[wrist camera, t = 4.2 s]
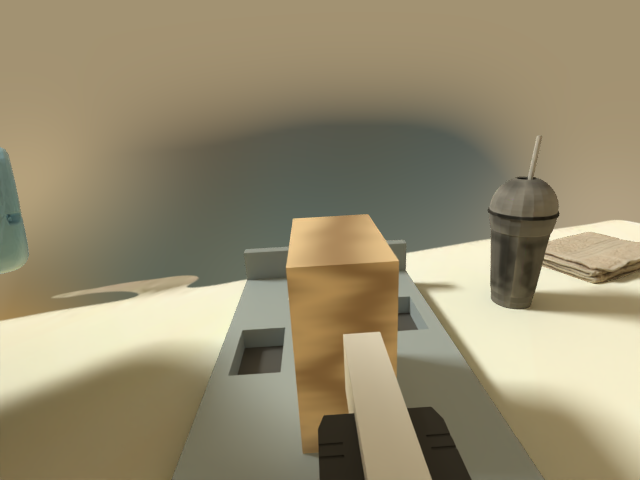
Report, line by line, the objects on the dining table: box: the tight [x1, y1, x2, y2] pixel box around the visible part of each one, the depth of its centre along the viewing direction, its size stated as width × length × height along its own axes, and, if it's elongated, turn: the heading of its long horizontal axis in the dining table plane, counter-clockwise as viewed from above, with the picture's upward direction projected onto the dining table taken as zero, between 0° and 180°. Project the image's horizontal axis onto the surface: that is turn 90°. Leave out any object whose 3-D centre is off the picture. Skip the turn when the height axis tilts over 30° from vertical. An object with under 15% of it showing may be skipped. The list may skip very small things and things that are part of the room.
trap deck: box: [172, 240, 545, 480], centre depth 35 cm, size 22×32×6 cm
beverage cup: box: [488, 136, 559, 309], centre depth 42 cm, size 7×7×20 cm
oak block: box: [286, 214, 399, 454], centre depth 25 cm, size 6×10×13 cm, turn 2°
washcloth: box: [542, 232, 640, 283], centre depth 55 cm, size 12×18×3 cm, turn 115°
